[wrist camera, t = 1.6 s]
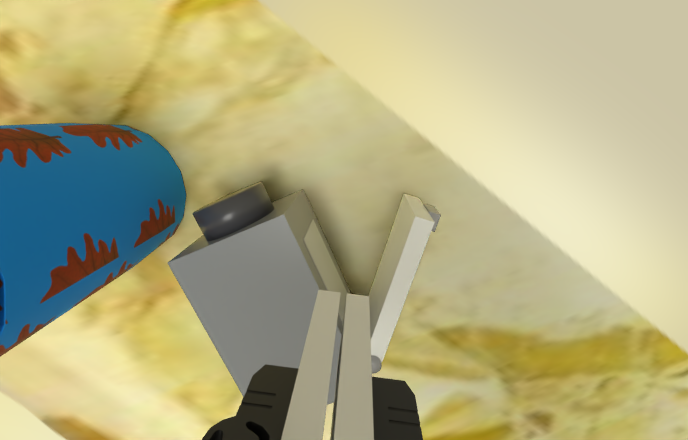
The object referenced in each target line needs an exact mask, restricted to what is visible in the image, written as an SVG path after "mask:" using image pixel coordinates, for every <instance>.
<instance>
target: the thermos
mask: <svg viewBox="0 0 688 440" xmlns="http://www.w3.org/2000/svg"><path fill="white" fill-rule="evenodd" d="M185 201H186V191H185V187H184V183H183V179H182V175H181V171H180V170H179V168H178V166H177V165H176V163H175V162H174V160H173V158H172V157H171V155H170V154H169V152H168V151H167V150H166V149H165V148H164V147H163V146H161V145H160V144H159V143H158V142H157V141H156V140H154V139H153V138H152V137H151V136H150V135H148V134H146V133H143V132H141V131H138V130H136V129H133V128H131V127H129V126H124V125H101V124H76V123H56V124H30V125H4V126H0V356H2V355H3V354H5V353H6V352H8V351H9V350H11V349H12V348H14V347H15V346H17V345H18V344H20V343H21V342H23V341H24V340H26V339H27V338H29V337H30V336H31V335H33V334H34V333H36V332H37V331H39V330H40V329H42V328H43V327H45V326H46V325H48V324H49V323H51V322H52V321H54V320H55V319H57V318H58V317H60V316H61V315H63V314H64V313H66V312H67V311H69V310H70V309H71V308H73V307H74V306H76V305H77V304H79V303H80V302H82V301H83V300H85V299H86V298H88V297H89V296H91V295H92V294H94V293H95V292H97V291H98V290H100V289H101V288H103V287H104V286H106V285H107V284H109V283H110V282H112V281H113V280H114V279H116V278H117V277H119V276H120V275H122V274H123V273H125V272H126V271H128V270H129V269H131V268H132V267H134V266H135V265H136V264H138V263H139V262H140V261H141V260H143V259H144V258H145V257H146V256H148V255H149V254H150V253H151V252H152V251H154V250H155V249H156V248H157V247H159V246H160V245H161V244H162V243H164V242H165V241H166V240H167V239H169V238H170V237H171V236H172V235H173V234H174V233H175V231H176V229H177V228H178V226H179V224H180V222H181V220H182V218H183V216H184V209H185Z"/></svg>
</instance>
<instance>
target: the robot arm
mask: <svg viewBox="0 0 688 440" xmlns="http://www.w3.org/2000/svg"><path fill="white" fill-rule="evenodd" d="M340 294H341V293H340V292H332V291H324V290H318V294H317V298H316V302H315V306H314V310H313V314H312V318H311V322H310V326H309V330H308V334H307V338H306V342H305V346H304V350H303V354H302V358H301V362H300V366H299V369H298V368H290V367H283V366H275V365H267V364H265V365H264V366H263V367H262V368H261V369H259V370H258V371H257V372H256V373H255V374H254V375H253V376H252V378H251V381H250V383H249V386H248V388H247V391H246V393H245V395H244V397H243V400H242V403H241V405H240V407H239V409H238V412H237V414H236V416H234V417H231V418H228V419H224V420H222V421H220V422H219V423H217V424H216V425H214V426H213V427H211V428H210V429H209V430H208V432H207V433H206V434H205V436H204V437H203V438H202V440H322V439H323V431H324V423H325V415H326V407H327V399H328V391H329V383H330V375H331V367H332V359H333V351H334V342H335V334H336V326H337V318H338V310H339V302H340ZM330 440H423V437H422V432H421V427H420V421H419V415H418V410H417V404H416V399H415V395H414V393H413V392H412V391H411V389H410V388H409V386H408V385H407V384H406V382H405V381H401V380H393V379H385V378H378V377H372V367H371V336H370V306H369V296H364V295H356V294H348V293H347V297H346V305H345V312H344V320H343V328H342V336H341V343H340V351H339V359H338V367H337V377H336V387H335V397H334V407H333V417H332V427H331V437H330Z"/></svg>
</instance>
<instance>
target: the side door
mask: <svg viewBox="0 0 688 440" xmlns="http://www.w3.org/2000/svg"><path fill="white" fill-rule="evenodd" d="M440 216H441V215H440V213H439V212H438V211H437V209H436V208H435V207H434V206H431V205H428V204H423V203H422V202H421V200H420V199H419V198H418V197H414V196H411V195H408V194H403V197H402V200H401V203H400V206H399V209H398V212H397V215H396V218H395V220H394V223H393V226H392V229H391V232H390V235H389V238H388V241H387V243H386V246H385V249H384V252H383V255H382V258H381V261H380V264H379V267H378V269H377V272H376V275H375V278H374V281H373V284H372V287H371V290H370V293H369V295H368V296H369V306H370V336H371V367H372V374H373V373H377V372H378V371H380V369H381V362H382V361H383V359H384V356H385V353H386V351H387V348H388V345H389V343H390V340H391V337H392V335H393V332H394V329H395V327H396V324H397V321H398V319H399V316H400V313H401V311H402V308H403V305H404V303H405V300H406V297H407V295H408V292H409V289H410V287H411V284H412V281H413V279H414V276H415V273H416V271H417V268H418V265H419V263H420V260H421V257H422V255H423V252H424V249H425V247H426V244H427V241H428V239H429V236H430V233H431V231H433V232H435V229H436V226H437V224H438V221H439V218H440Z"/></svg>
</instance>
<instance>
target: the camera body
mask: <svg viewBox="0 0 688 440" xmlns="http://www.w3.org/2000/svg"><path fill="white" fill-rule="evenodd" d="M192 214H193V216H194V217H195V219H196V221H197V223H198V225H199V227H200V229H201V231H202V232H203V234H204V235H203V236H202V237H200V238H199V239H198V240H196V241H195V242H194V243H193V244H191V245H190V246H189V247H187V248H186V249H185V250H183V251H182V252H181V253H180V254H178V255H177V256H176V257H174V258H173V259H172V260H171V261H169V262H168V265H169V266H170V268H171V270H172V272H173V274H174V275H175V277H176V279H177V281H178V282H179V284H180V286H181V288H182V289H183V291H184V293H185V295H186V296H187V298H188V300H189V302H190V303H191V305H192V307H193V309H194V311H195V312H196V314H197V316H198V318H199V319H200V321H201V323H202V325H203V326H204V328H205V330H206V332H207V333H208V335H209V337H210V339H211V340H212V342H213V344H214V346H215V347H216V349H217V351H218V353H219V355H220V356H221V358H222V360H223V362H224V363H225V365H226V367H227V369H228V370H229V372H230V374H231V376H232V377H233V379H234V381H235V383H236V384H237V386H238V388H239V390H240V391H241V393H242V395H243V397H244V395H245V393H246V391H247V388H248V386H249V383H250V381H251V378H252V376H253V375H254V374H255V373H256V372H257V371H258V370H259V369H261V368H262V367H263V366H264V365H265V364H267V365H275V366H283V367H290V368H298V369H299V366H300V362H301V358H302V354H303V350H304V346H305V342H306V338H307V334H308V330H309V326H310V322H311V318H312V314H313V310H314V306H315V302H316V298H317V294H318V290H324V291H332V292H340V293H341V294H340V302H339V310H338V318H337V326H336V334H335V342H334V351H333V359H332V367H331V375H330V383H329V391H328V399H327V404H330V403H333V402H334V397H335V387H336V377H337V367H338V359H339V351H340V343H341V336H342V328H343V320H344V312H345V305H346V297H347V293H348V294H351V292H350V290H349V287H348V285H347V283H346V281H345V279H344V277H343V274H342V272H341V270H340V268H339V266H338V264H337V261H336V259H335V257H334V255H333V253H332V251H331V248H330V246H329V244H328V242H327V240H326V237H325V235H324V233H323V231H322V229H321V227H320V224H319V222H318V220H317V218H316V216H315V214H314V211H313V209H312V207H311V205H310V203H309V201H308V198H307V196H306V194H305V192H304V190H303V189H302V190H300V191H298V192H295V193H293V194H291V195H288V196H286V197H283V198H281V199H279V200H276V201H274V202H271V200H270V198H269V196H268V194H267V191H266V189H265V187H264V185H263V183H262V182H258V183H255V184H253V185H250V186H248V187H245V188H243V189H241V190H238V191H236V192H234V193H232V194H229V195H227V196H225V197H223V198H221V199H219V200H216V201H214V202H212V203H210V204H208V205H206V206H204V207H202V208H201V209H199V210H197V211H195V212H194V213H192Z"/></svg>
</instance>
